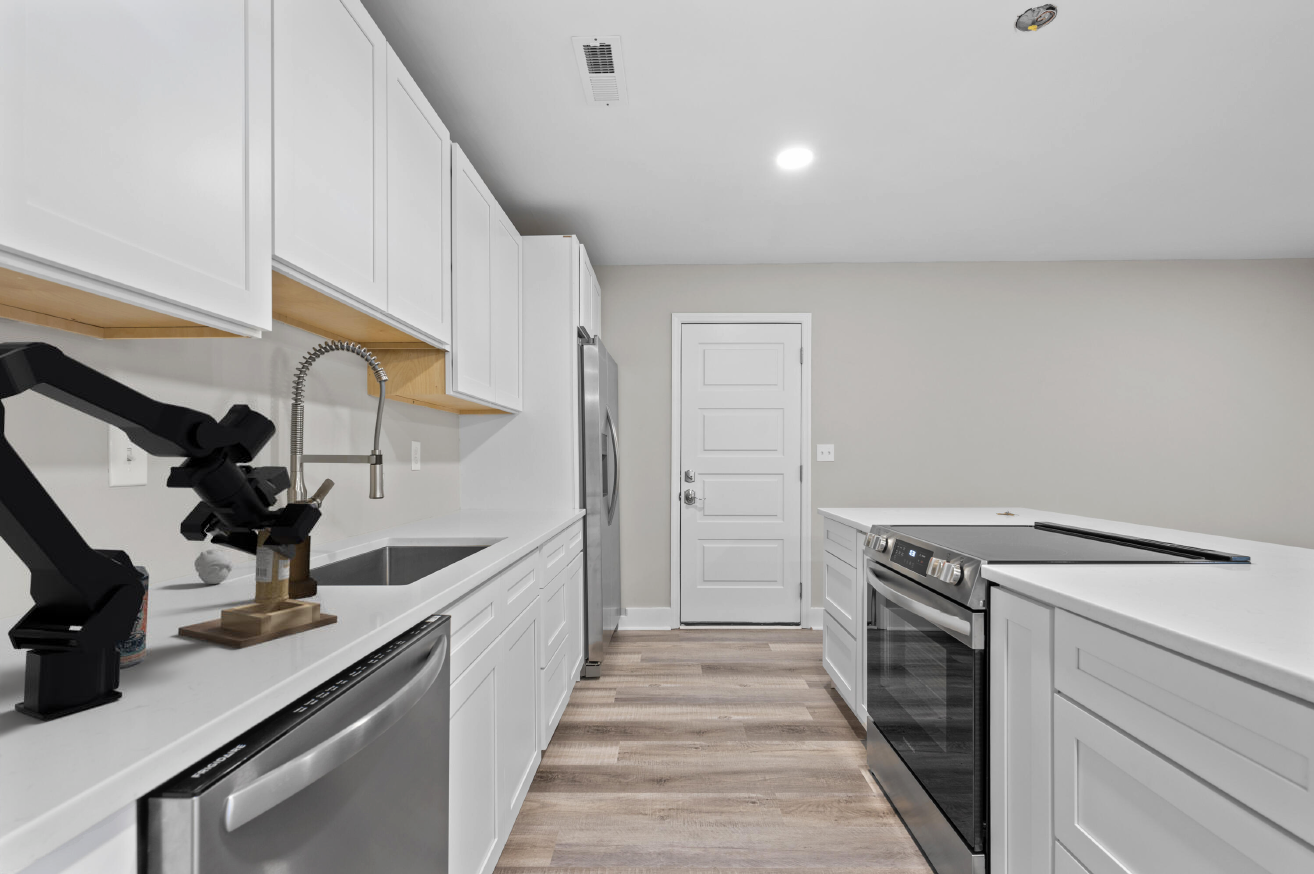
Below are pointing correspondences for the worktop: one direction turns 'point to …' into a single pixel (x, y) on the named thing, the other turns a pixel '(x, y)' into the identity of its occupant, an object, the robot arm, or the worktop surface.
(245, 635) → the socket
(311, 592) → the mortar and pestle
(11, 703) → the worktop surface
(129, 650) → the beer can
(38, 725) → the worktop surface
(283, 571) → the spice jar
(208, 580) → the white lumpy ball
